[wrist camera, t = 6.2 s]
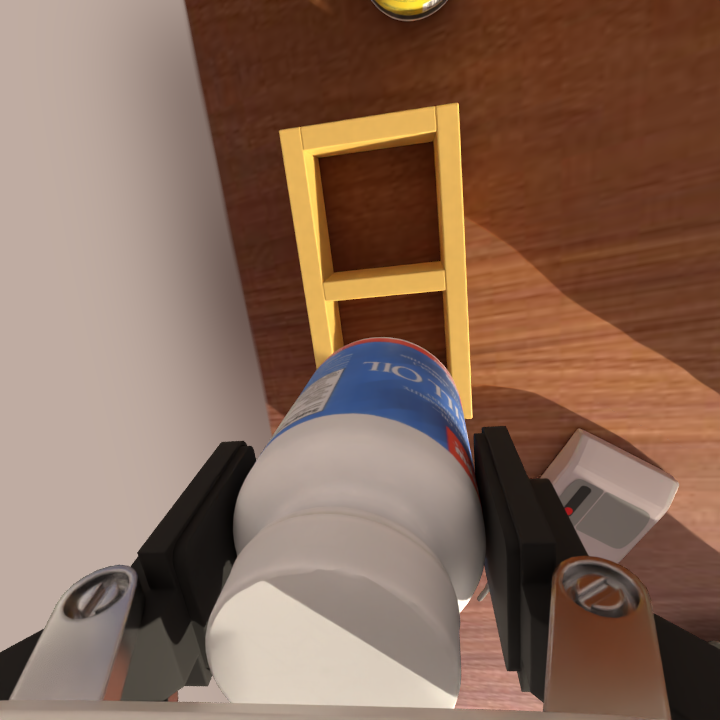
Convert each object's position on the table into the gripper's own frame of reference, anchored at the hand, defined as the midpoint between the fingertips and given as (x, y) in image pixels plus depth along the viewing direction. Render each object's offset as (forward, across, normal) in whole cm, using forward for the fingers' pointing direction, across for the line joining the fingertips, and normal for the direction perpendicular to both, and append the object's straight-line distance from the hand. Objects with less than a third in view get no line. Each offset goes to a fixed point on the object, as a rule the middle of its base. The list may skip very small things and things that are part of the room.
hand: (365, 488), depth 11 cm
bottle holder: (+16, 0, -3) cm, 16 cm away
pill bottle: (+5, 0, 0) cm, 5 cm away
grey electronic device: (+16, -10, +14) cm, 24 cm away
